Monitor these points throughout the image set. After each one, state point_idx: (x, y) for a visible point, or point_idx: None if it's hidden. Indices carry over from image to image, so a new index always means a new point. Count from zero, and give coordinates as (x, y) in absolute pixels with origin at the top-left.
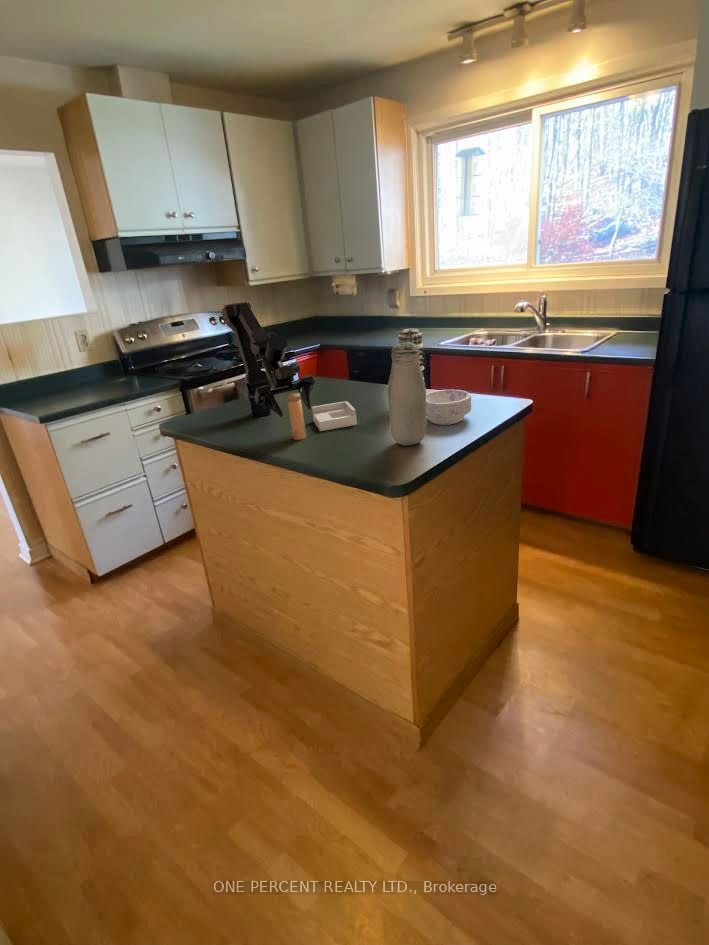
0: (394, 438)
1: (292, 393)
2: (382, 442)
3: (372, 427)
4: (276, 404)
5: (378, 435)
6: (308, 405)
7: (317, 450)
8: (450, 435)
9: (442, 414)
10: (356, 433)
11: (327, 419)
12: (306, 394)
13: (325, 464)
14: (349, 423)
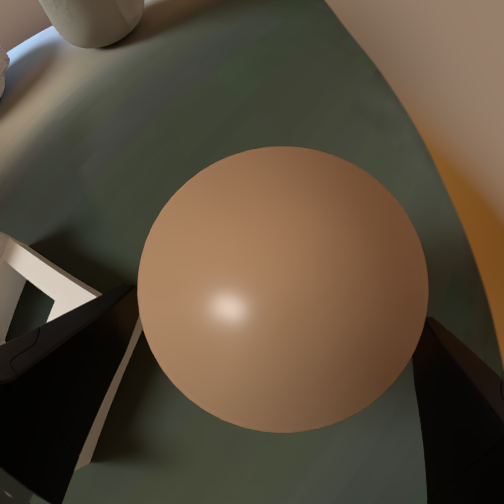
0: (139, 14)
1: (230, 407)
2: (129, 63)
3: (34, 178)
4: (490, 388)
5: (86, 107)
6: (123, 294)
7: (308, 128)
8: (51, 42)
9: (5, 54)
10: (94, 165)
11: (75, 307)
12: (28, 355)
13: (343, 49)
14: (38, 254)
